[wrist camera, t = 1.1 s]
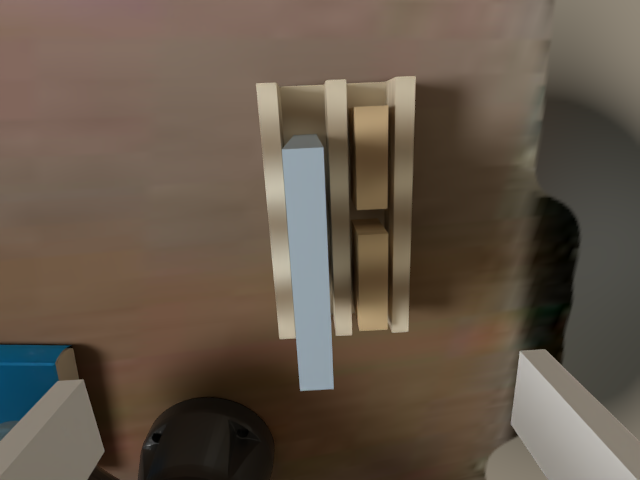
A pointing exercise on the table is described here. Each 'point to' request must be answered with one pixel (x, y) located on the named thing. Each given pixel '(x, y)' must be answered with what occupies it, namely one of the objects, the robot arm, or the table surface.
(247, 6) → the table surface
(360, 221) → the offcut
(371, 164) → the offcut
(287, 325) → the rack
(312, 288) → the pale blue panel
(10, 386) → the book
